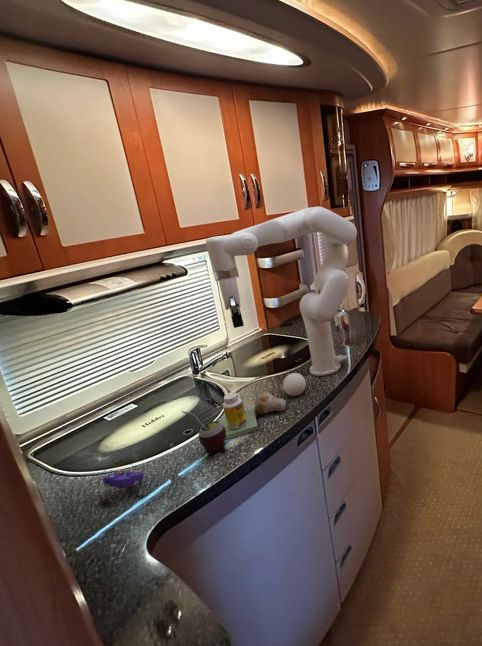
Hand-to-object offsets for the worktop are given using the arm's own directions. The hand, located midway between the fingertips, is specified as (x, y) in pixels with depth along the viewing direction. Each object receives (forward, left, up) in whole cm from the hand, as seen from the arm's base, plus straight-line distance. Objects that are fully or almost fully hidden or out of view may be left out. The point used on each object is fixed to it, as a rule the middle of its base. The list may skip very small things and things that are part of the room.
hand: (238, 323), depth 128 cm
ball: (-13, +8, -28) cm, 32 cm away
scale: (+7, +17, -28) cm, 34 cm away
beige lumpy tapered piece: (-4, +14, -28) cm, 32 cm away
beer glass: (-43, -26, -28) cm, 58 cm away
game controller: (+35, +33, -28) cm, 56 cm away
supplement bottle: (+7, +19, -27) cm, 34 cm away
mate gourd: (+14, +27, -28) cm, 42 cm away
